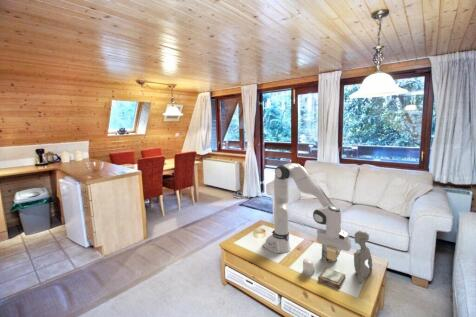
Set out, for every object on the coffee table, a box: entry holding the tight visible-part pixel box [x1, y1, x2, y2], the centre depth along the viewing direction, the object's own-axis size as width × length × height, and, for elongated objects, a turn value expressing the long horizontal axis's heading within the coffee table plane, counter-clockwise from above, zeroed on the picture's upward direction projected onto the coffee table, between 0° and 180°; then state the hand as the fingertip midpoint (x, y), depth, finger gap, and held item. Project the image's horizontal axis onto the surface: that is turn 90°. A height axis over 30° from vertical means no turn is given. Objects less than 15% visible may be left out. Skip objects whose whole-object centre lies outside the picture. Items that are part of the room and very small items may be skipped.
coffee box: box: [321, 244, 338, 263], centre depth 177 cm, size 9×6×16 cm
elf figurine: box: [353, 230, 373, 285], centre depth 159 cm, size 23×10×30 cm, turn 135°
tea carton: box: [327, 246, 340, 262], centre depth 153 cm, size 5×7×8 cm
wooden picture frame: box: [317, 267, 346, 289], centre depth 156 cm, size 13×13×3 cm
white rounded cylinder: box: [302, 258, 315, 277], centre depth 163 cm, size 7×7×8 cm
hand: (332, 252), depth 153 cm, fingers closed on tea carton, 5 cm apart
